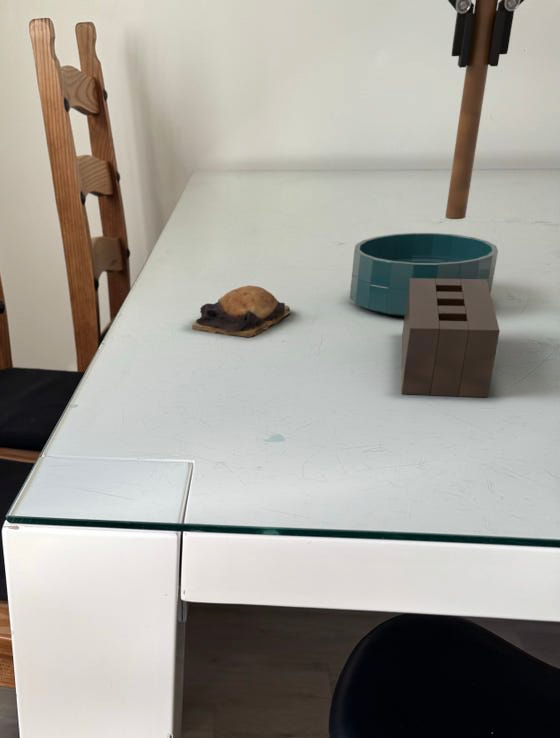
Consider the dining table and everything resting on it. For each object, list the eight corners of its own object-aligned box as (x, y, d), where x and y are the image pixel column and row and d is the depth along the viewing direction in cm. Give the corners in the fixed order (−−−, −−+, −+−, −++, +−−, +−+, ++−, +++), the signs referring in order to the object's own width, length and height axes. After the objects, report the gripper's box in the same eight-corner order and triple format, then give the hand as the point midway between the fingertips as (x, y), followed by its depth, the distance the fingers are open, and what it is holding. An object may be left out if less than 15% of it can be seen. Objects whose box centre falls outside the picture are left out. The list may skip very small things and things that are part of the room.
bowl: (483, 286, 119) (492, 233, 116) (492, 323, 107) (502, 265, 104) (352, 284, 123) (357, 232, 120) (346, 319, 111) (351, 263, 107)
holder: (476, 339, 103) (486, 279, 100) (487, 397, 89) (499, 330, 86) (401, 337, 105) (409, 277, 101) (401, 394, 91) (410, 328, 88)
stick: (464, 215, 95) (498, -12, 85) (466, 219, 93) (500, -11, 83) (444, 215, 95) (476, -10, 85) (445, 219, 94) (477, -10, 84)
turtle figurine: (231, 305, 118) (232, 273, 116) (297, 314, 114) (299, 280, 112) (184, 328, 111) (184, 295, 109) (252, 338, 107) (253, 303, 105)
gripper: (620, -213, 78) (568, 58, 88) (409, -193, 82) (383, 65, 92) (639, -227, 72) (582, 65, 82) (411, -205, 76) (383, 73, 86)
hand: (477, 63), depth 87 cm, fingers closed on stick, 1 cm apart
